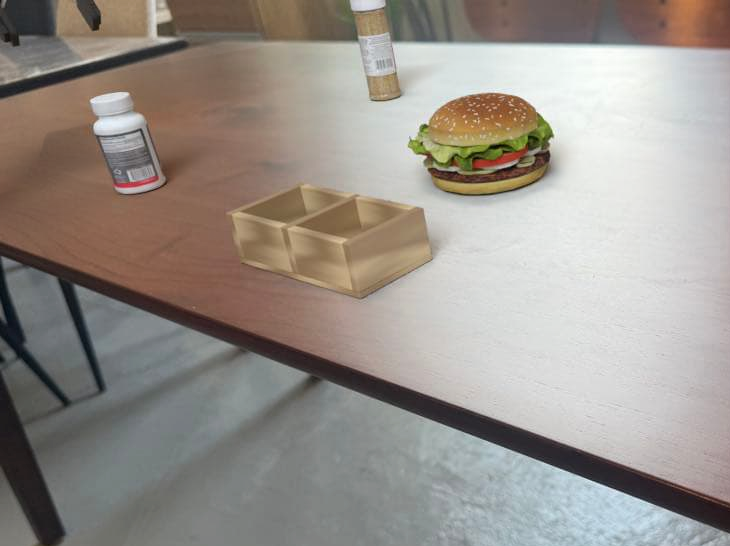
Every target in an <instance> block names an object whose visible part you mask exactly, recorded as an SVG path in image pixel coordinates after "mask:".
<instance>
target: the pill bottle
mask: <svg viewBox="0 0 730 546" xmlns="http://www.w3.org/2000/svg"><path fill="white" fill-rule="evenodd" d="M89 103H90V106H91V109H92V112H93V113H94V115H95V116H97V117H98V119H97V120H96V121H95V122H94V123H93V126H92V127H93V128H92V129H93V133H94V136H95V138H96V140H97V143H98V145H99V149H100V151H101V153H102V156H103V159H104V161H105V164H106V167H107V169H108V172H109V175H110V178H111V181H112V184H113V185H114V188H115V190H116V191H117V192H118V193H119V194H123V195H135V194H141V193H146V192H150V191H152V190H155V189H158V188H160V187H162V186H163V185H164V184H165V183H166V180H167V177H166V175H165V172H164V169H163V166H162V163H161V161H160V158H159V154H158V152H157V149H156V146H155V143H154V140H153V137H152V134H151V130H150V128H149V125H148V122H147V120H146V117H145V116H144V115H143V114H141V113H139V112H135V111H134V108H135V105H134V102H133V100H132V95H131V94H130V93H129V92H126V91H117V92H112V93H111V92H110V93H104V94H100V95H98V96H95V97H93V98H91V99H90V100H89Z"/></svg>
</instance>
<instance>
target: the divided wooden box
mask: <svg viewBox="0 0 730 546" xmlns="http://www.w3.org/2000/svg"><path fill="white" fill-rule="evenodd" d="M424 210H425V209H424V208H423V207H420V206H416V205H411V204H407V203H403V202H397V201H392V200H387V199H384V198H383V199H382V198H378V197H373V196H367V195H363V194H357V193H352V192H349V191H342V190H339V189H333V188H328V187H323V186H318V185H313V184H309V183H305V182H299V183H296V184H294V185H291V186H289V187H286V188H284V189H281V190H278V191H276V192H274V193H272V194H269V195H267V196H265V197H262V198H260V199H257V200H254V201H252V202H250V203H247V204H244V205H242V206H240V207H237V208H234V209H233V210H230V211H228V212H226V213H225V215H226V219H227V222H228V224H229V228H230V232H231V235H232V239H233V241H234V245H235V248H236V251H237V254H238V258H239V262H240V263H241V264H245V265H249V266H252V267H254V268H258V269H261V270H265V271H267V272H271V273H275V274H279V275H281V276H285V277H287V278H291V279H294V280H298V281H301V282H304V283H307V284H311V285H313V286H317V287H321V288H324V289H327V290H331V291H333V292H336V293H339V294H343V295H347V296H350V297H354V298H357V299H359V300H360V299H363V298H365V297H367V296H369V295H371V294H372V293H374V292H376V291H377V290H380V289H381V288H383V287H385V286H387V285H389V284H390V283H393V282H394V281H396V280H397V279H399V278H401V277H403V276H405V275H407V274H409V273H410V272H412V271H414V270H416V269H418V268H419V267H421V266H423V265H425V264H426V263H428V262H430V261H432V260H433V255H432V250H431V244H430V240H429V234H428V228H427V222H426V221H427V220H426V215H425V211H424Z"/></svg>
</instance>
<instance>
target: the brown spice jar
mask: <svg viewBox="0 0 730 546" xmlns="http://www.w3.org/2000/svg"><path fill="white" fill-rule="evenodd" d="M349 4H350V9H351V11H352V14H353V17H354V22H355V23H354V24H355V27H356V32H357V40H358V45H359V50H360V54H361V61H362V66H363V70H364V74H365V78H366V83H367V88H368V92H369V94H368V97H369V99H371V100H372V101H389V100H393V99H396V98H398V97H399V96H401V94H402V90H401V87H400V84H399V78H398V72H397V63H396V58H395V52H394V48H393V45H392V38H391V33H390V28H389V23H388V17H387V12H386V9H387V8H386V6H387V3H386V0H349Z"/></svg>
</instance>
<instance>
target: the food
mask: <svg viewBox="0 0 730 546" xmlns="http://www.w3.org/2000/svg"><path fill="white" fill-rule="evenodd" d="M418 131H419V132H417V135H416V136H415V138H414V139H412V137H411V136H409V137H408V139H409V141H408V143H407V148H408V149H411V150H412V152H413V153H414V154H415V155H418V156H419V155H421V156H425V158H424V160H423V162H422V165H423V167H425V168H427V170H426V171H427V172H428V173H429V174H430V175H431V180H432V183H433V184H434V185H435V186H436V187H438V188H439V189H441V190H442V191H446V192H450V193H456V194H462V195H484V194H497V193H502V192H507V191H512V190H515V189H517V188H520V187H524V186H526V185H529V184H531V183H533V182H535V181H537V180H538V179H540V178H542V176H543V174H544V172H545V171H546V169H547V164H549V162H550V159H551V156H552V155H551V151H550V146H551V143H550V142H549V141H550V140H551V139H555V134H554V133H553V131H554V130H553V128H552V127H551V125H550V123H549V122H548V121H547V120H545V118H543V116H542V114H541V113H539V112H538V111H537V110H536V107H534V105H532V104H531V103H530V102H528V101H527V100H525V99H524V98H522V97H520V96H517V95H515V94H507V93H502V92H492V91H491V92H481V93H473V94H467V95H464V96H460V97H458V98H454V99H453V100H450V101H448V102H446V103H445V104H443V105H442V106H440V107H439V108H437V109H436V110H435V112H434V113H433V114H432V116H431V117H430V118H429V120H428V124H427V123H422V124H421V125H420V126H419V127H418Z"/></svg>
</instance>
